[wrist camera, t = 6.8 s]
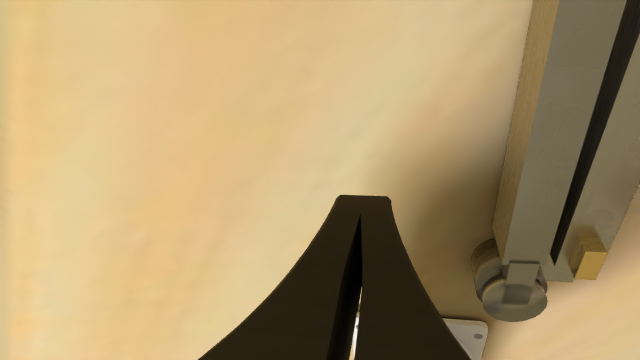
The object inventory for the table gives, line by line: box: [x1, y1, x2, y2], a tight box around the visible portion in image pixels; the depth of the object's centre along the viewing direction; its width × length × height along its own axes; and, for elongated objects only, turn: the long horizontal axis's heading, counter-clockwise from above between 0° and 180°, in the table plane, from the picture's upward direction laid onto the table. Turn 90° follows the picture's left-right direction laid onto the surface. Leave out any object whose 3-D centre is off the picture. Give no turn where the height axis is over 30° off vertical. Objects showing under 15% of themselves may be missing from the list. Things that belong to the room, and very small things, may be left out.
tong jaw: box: [481, 0, 627, 322], centre depth 17 cm, size 17×3×3 cm, turn 6°
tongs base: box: [471, 0, 640, 302], centre depth 17 cm, size 17×5×4 cm, turn 4°
